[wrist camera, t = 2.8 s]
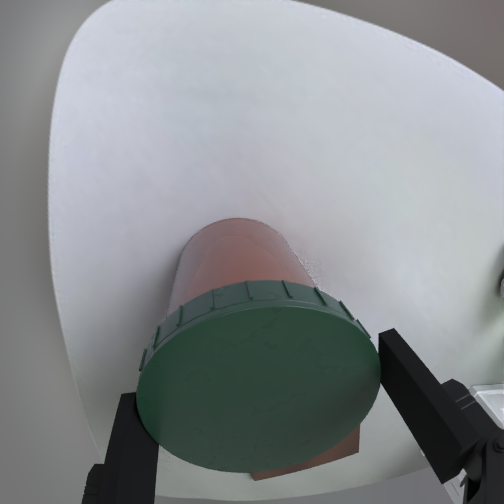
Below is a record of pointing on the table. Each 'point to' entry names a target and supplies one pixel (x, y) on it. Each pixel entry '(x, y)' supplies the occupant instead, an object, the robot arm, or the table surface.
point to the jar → (233, 259)
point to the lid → (257, 377)
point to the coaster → (318, 457)
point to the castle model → (499, 409)
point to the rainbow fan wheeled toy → (502, 288)
